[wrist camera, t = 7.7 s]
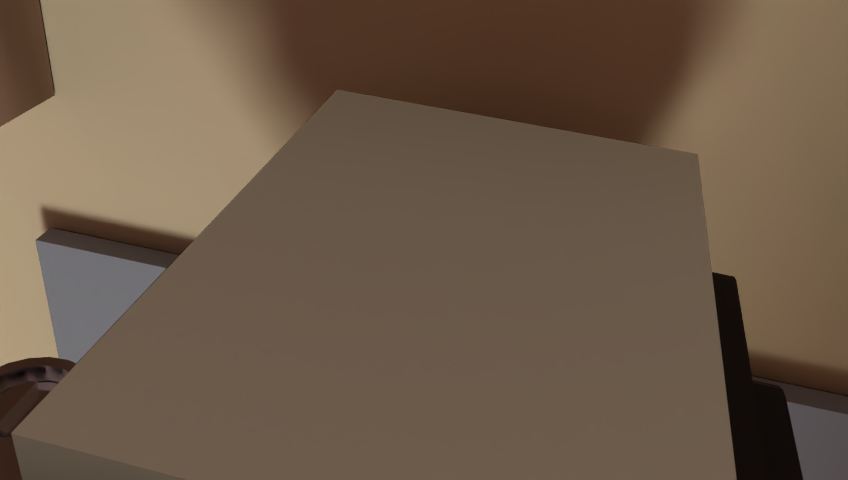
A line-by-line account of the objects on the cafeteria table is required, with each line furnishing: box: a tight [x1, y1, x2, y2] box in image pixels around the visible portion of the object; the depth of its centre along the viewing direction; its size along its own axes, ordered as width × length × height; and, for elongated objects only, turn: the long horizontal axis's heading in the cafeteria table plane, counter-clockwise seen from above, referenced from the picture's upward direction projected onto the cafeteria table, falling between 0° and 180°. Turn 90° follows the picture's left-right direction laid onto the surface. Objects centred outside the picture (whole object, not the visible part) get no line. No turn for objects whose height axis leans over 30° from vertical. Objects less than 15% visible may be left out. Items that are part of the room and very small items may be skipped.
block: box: [11, 90, 737, 480], centre depth 9 cm, size 5×5×7 cm
